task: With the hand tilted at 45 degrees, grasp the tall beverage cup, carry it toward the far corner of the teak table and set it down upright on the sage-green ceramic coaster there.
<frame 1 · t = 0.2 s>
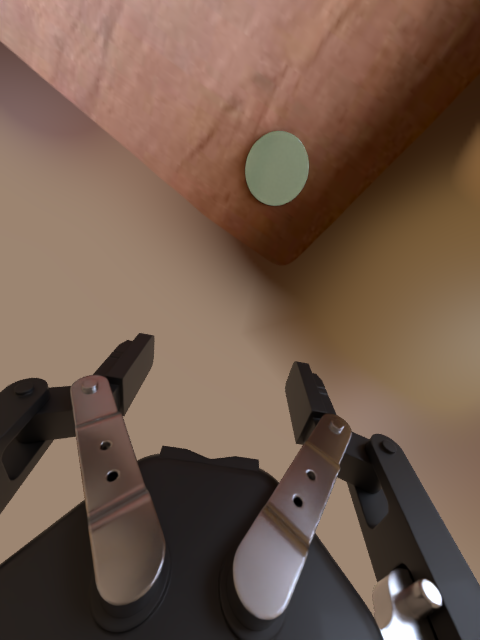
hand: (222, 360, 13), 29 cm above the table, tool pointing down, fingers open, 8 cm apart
coaster: (276, 171, 34), on the table
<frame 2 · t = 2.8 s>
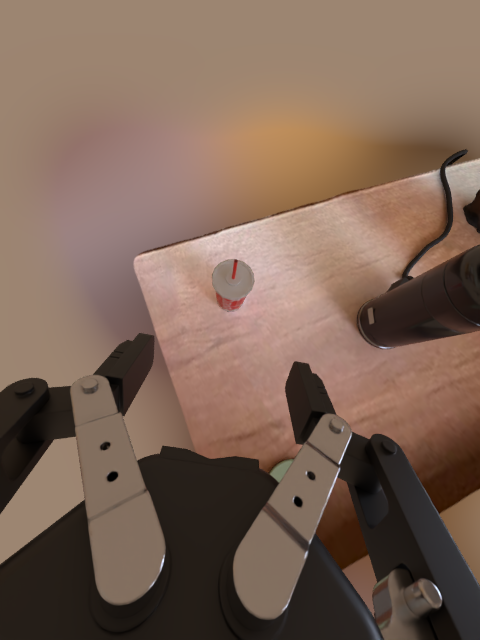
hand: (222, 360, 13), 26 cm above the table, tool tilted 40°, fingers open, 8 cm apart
coaster: (293, 492, 35), on the table
beverage cup: (230, 299, 42), on the table
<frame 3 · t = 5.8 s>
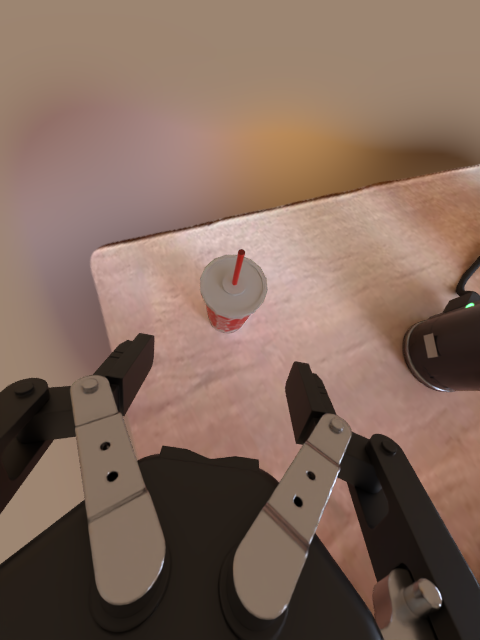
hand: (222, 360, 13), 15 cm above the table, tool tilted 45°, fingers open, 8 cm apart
beverage cup: (226, 315, 30), on the table
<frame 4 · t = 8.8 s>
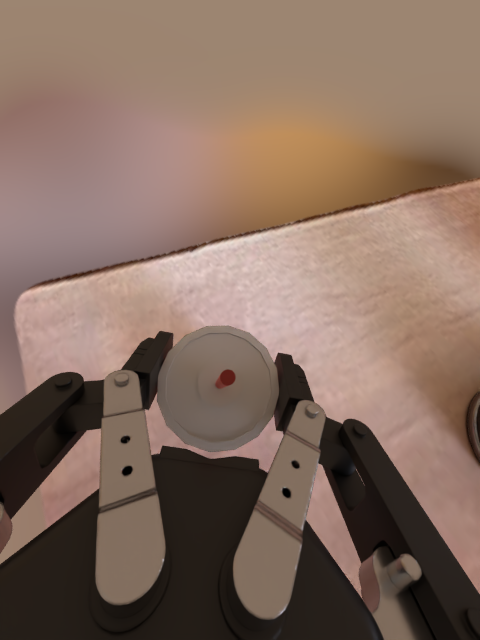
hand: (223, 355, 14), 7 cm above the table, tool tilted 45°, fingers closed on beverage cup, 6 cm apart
beverage cup: (215, 387, 20), on the table, touching gripper
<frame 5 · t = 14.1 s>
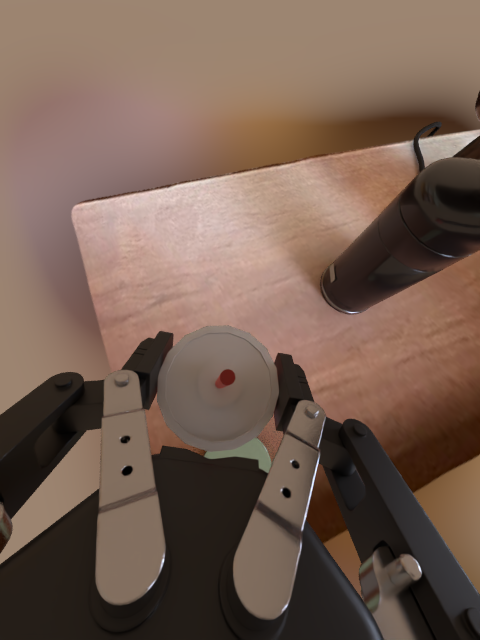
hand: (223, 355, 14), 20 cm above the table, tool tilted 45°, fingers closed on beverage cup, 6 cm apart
coaster: (236, 469, 30), on the table
owl: (467, 194, 50), on the table
beverage cup: (215, 387, 20), point 13 cm above the table, touching gripper
when the fingers open (8 cm above the table, at t = 19.4 s): beverage cup stays where it is, resting on coaster.
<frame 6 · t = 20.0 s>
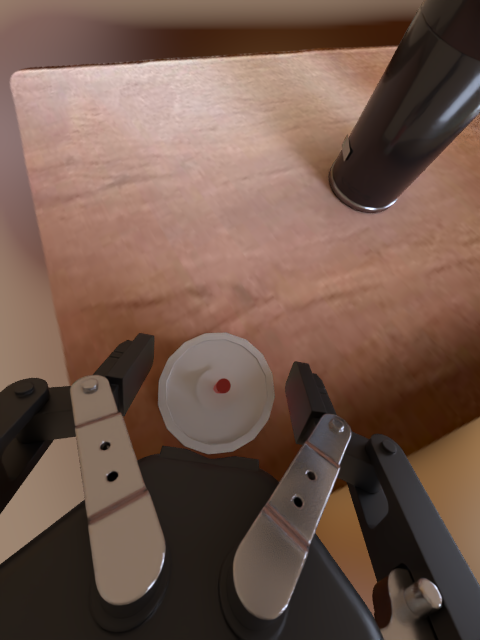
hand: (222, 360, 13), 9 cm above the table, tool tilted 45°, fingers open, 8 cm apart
beverage cup: (214, 390, 21), resting on coaster
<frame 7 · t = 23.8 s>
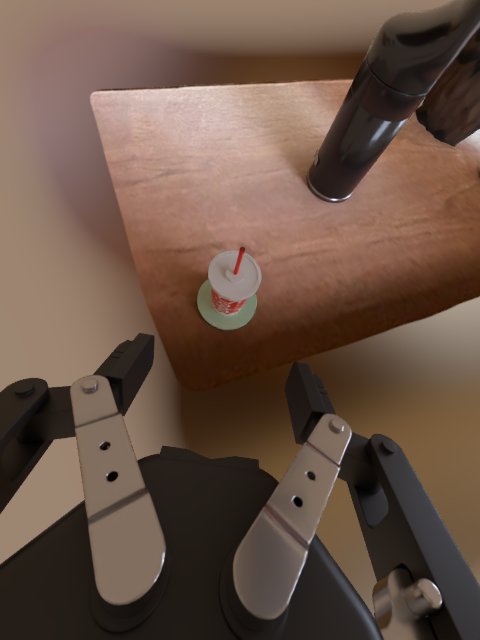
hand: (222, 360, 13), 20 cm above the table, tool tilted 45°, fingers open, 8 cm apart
coaster: (227, 301, 36), on the table
owl: (441, 126, 57), on the table
beverage cup: (227, 301, 35), resting on coaster
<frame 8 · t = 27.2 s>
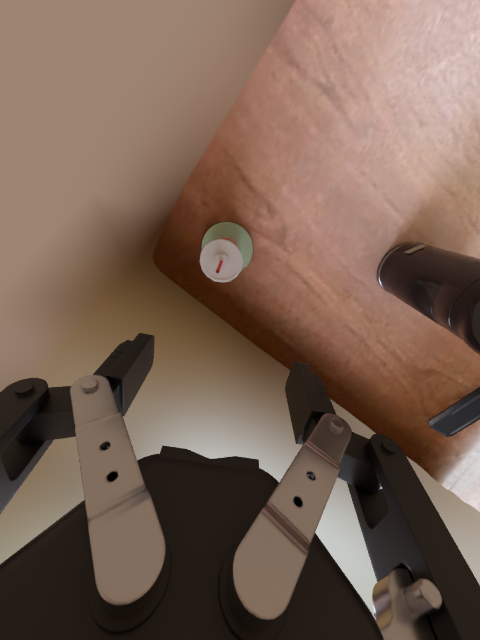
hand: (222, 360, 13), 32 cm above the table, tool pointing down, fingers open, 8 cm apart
coaster: (227, 248, 42), on the table
phone: (461, 411, 59), on the table
beverage cup: (226, 249, 42), resting on coaster
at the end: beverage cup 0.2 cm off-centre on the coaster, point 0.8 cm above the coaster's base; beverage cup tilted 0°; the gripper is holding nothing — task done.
